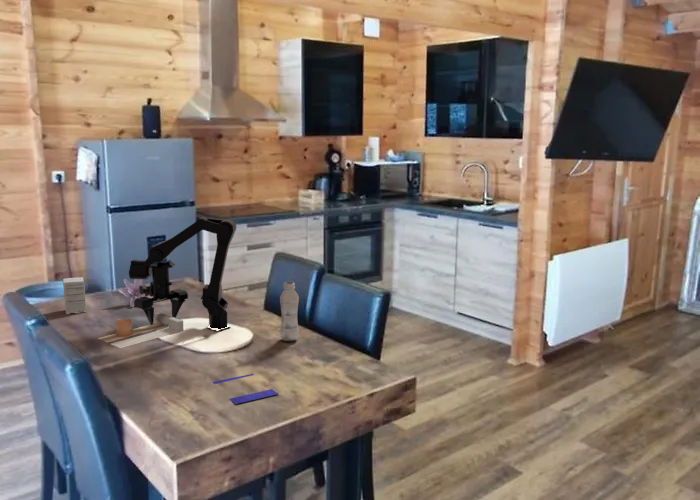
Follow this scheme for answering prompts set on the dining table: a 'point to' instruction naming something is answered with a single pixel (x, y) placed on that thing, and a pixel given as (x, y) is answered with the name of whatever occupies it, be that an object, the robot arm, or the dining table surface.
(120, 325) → the rounded peach dome
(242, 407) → the dining table surface
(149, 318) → the robot arm
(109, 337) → the birch strip
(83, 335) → the dining table surface
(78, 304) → the miniature chest of drawers
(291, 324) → the plastic bottle
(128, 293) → the water lily
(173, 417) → the dining table surface
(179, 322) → the grey strip
